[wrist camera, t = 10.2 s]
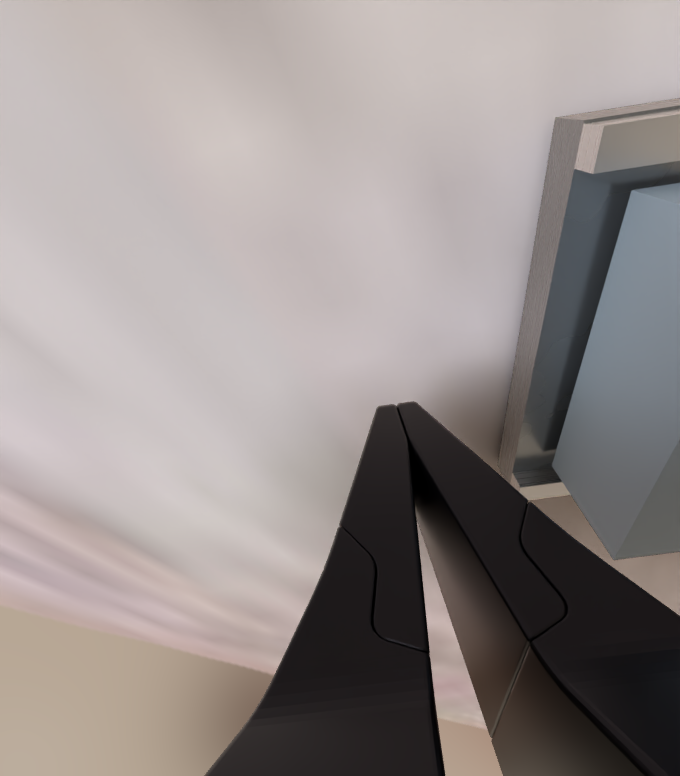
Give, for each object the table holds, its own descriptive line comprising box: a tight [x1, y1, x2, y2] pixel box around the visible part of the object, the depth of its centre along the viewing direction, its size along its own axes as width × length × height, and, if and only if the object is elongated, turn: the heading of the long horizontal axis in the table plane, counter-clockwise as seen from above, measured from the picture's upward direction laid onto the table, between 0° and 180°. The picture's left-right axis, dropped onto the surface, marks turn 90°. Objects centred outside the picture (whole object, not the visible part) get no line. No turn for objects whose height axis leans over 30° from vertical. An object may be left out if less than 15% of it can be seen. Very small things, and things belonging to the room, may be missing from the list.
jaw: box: [552, 183, 680, 560], centre depth 8 cm, size 2×8×3 cm, turn 8°
